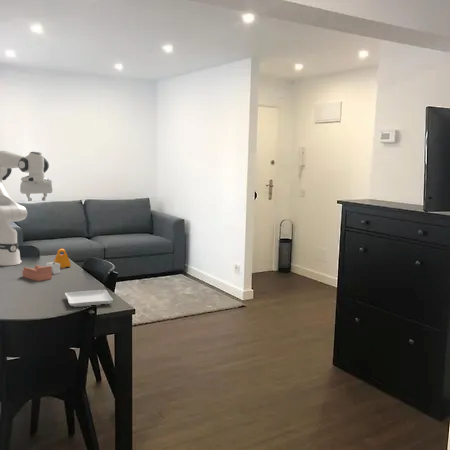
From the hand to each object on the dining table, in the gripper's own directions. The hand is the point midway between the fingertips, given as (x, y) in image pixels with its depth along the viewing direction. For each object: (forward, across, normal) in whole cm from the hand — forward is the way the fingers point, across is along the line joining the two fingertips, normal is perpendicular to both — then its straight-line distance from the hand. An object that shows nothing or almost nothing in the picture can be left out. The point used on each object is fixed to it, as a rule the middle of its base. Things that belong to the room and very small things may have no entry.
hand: (36, 200), depth 309 cm
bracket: (+45, -19, -2) cm, 49 cm away
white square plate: (+46, +21, +77) cm, 92 cm away
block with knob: (+45, -5, +9) cm, 46 cm away
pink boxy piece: (+45, +10, +15) cm, 48 cm away
